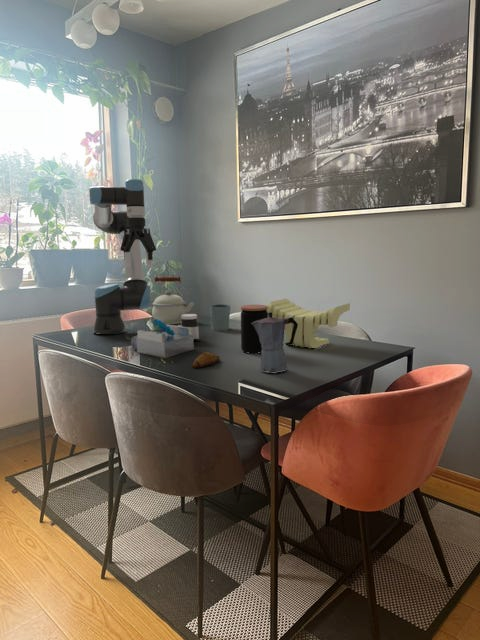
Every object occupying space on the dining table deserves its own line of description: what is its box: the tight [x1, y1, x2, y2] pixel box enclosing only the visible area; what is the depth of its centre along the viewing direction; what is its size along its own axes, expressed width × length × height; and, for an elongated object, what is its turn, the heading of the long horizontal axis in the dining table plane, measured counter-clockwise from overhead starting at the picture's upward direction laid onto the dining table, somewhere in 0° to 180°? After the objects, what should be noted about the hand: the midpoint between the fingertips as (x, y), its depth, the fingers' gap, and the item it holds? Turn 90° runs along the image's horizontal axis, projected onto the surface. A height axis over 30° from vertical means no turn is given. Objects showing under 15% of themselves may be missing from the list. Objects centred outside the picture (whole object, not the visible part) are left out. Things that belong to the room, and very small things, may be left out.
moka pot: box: [252, 312, 298, 372], centre depth 157 cm, size 10×15×20 cm, turn 95°
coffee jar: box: [240, 304, 268, 353], centre depth 186 cm, size 11×11×18 cm
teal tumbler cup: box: [209, 303, 231, 332], centre depth 233 cm, size 10×10×12 cm
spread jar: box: [177, 313, 200, 343], centre depth 208 cm, size 12×11×12 cm
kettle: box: [150, 276, 195, 325], centre depth 253 cm, size 25×18×25 cm
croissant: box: [192, 351, 221, 369], centre depth 168 cm, size 14×7×5 cm, turn 143°
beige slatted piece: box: [267, 298, 351, 349], centre depth 195 cm, size 30×16×18 cm, turn 53°
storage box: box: [130, 324, 195, 359], centre depth 191 cm, size 22×16×10 cm
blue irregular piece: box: [152, 318, 175, 336], centre depth 187 cm, size 11×6×10 cm
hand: (138, 267), depth 203 cm, fingers open, 13 cm apart
